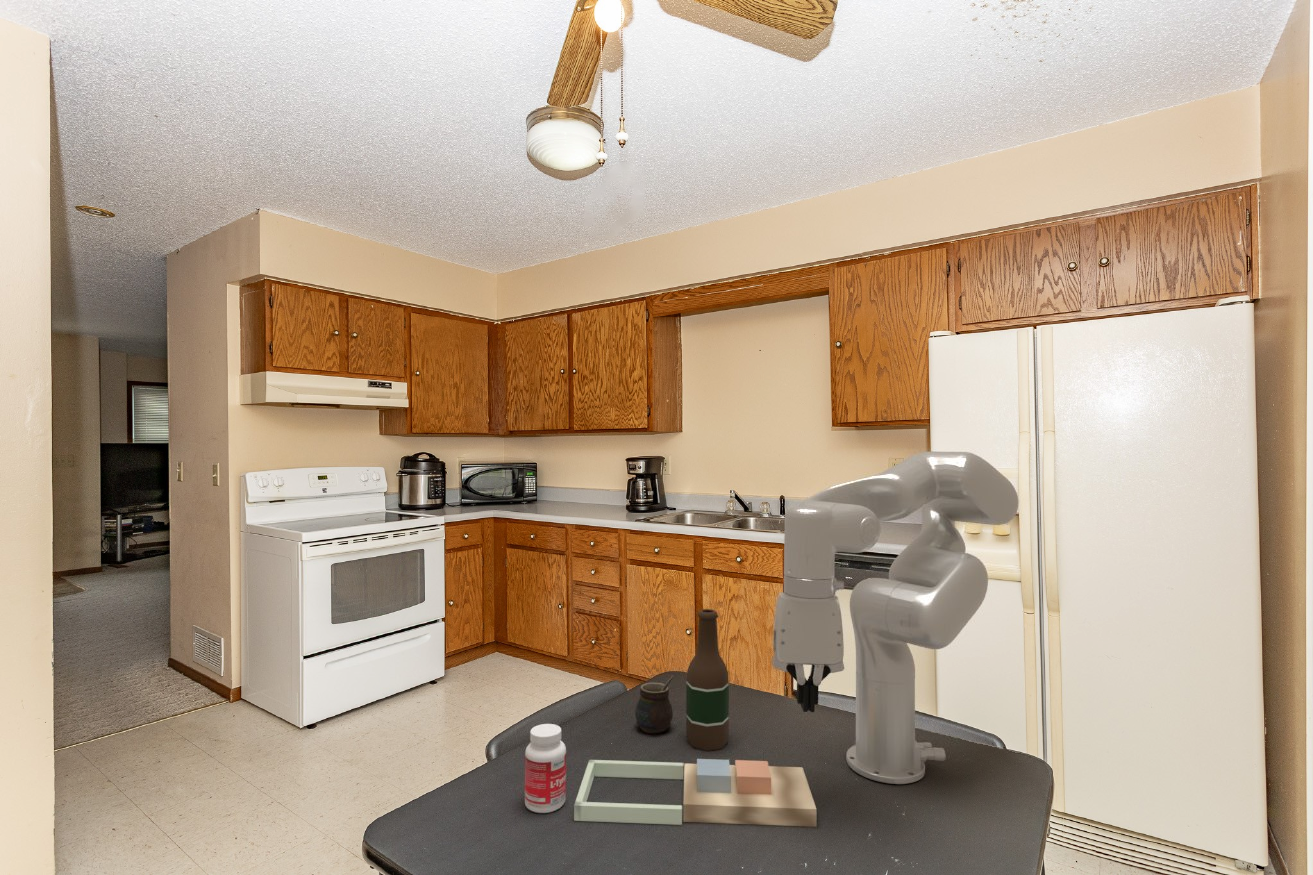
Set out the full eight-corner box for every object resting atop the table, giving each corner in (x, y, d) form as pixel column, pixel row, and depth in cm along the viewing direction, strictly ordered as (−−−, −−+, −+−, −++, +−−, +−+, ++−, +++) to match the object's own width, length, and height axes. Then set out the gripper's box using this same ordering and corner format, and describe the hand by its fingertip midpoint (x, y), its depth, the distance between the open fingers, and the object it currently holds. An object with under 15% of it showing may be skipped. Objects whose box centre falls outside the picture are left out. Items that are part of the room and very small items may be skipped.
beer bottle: (728, 733, 122) (728, 606, 122) (728, 752, 114) (729, 616, 114) (687, 731, 123) (687, 604, 123) (684, 750, 115) (685, 615, 115)
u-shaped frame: (683, 776, 106) (683, 762, 106) (681, 824, 92) (681, 809, 92) (589, 772, 107) (589, 759, 107) (574, 820, 93) (574, 805, 93)
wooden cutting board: (802, 782, 104) (802, 767, 104) (816, 826, 92) (816, 809, 92) (684, 778, 105) (684, 763, 105) (683, 821, 93) (683, 804, 93)
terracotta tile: (767, 777, 101) (767, 761, 101) (771, 794, 96) (771, 777, 96) (735, 776, 101) (735, 760, 101) (737, 793, 96) (737, 776, 96)
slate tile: (728, 775, 101) (728, 759, 101) (730, 792, 96) (730, 776, 96) (696, 774, 101) (697, 758, 102) (697, 791, 96) (697, 774, 97)
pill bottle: (554, 817, 94) (554, 741, 94) (517, 810, 96) (517, 735, 96) (572, 795, 100) (573, 724, 100) (537, 789, 102) (537, 718, 102)
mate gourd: (628, 725, 125) (629, 673, 125) (662, 718, 129) (663, 667, 129) (645, 740, 119) (646, 685, 119) (680, 732, 122) (681, 679, 123)
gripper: (852, 583, 102) (851, 701, 101) (757, 581, 103) (755, 697, 102) (865, 594, 94) (863, 720, 94) (762, 591, 95) (760, 716, 95)
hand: (807, 708), depth 98 cm, fingers closed
